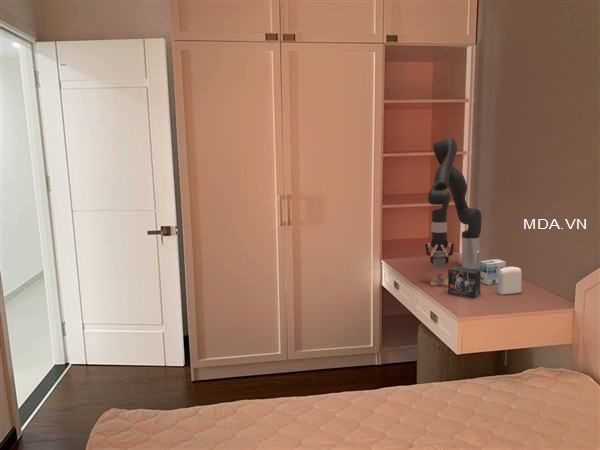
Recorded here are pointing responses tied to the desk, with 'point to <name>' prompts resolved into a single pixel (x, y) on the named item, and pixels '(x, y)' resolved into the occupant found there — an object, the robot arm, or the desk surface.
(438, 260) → the knob
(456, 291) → the small box
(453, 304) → the desk surface
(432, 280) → the shaft base
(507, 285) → the photo printer
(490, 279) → the light bulb box
